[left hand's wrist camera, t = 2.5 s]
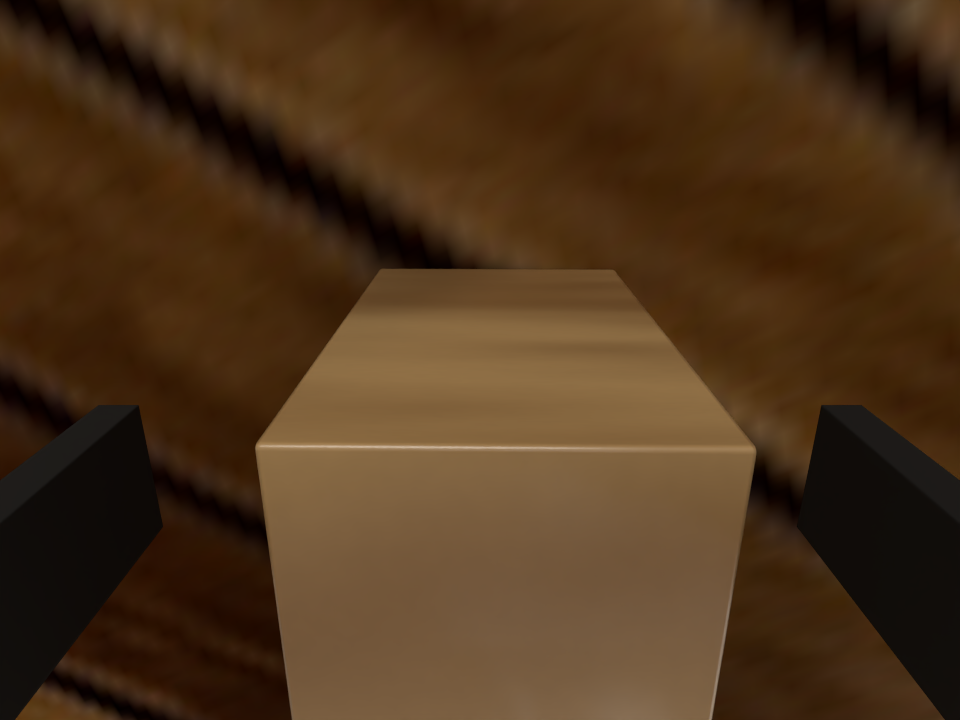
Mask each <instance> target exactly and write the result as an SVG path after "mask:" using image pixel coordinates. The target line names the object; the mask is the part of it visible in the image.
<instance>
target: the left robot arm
mask: <svg viewBox="0 0 960 720" xmlns="http://www.w3.org/2000/svg"><path fill="white" fill-rule="evenodd" d="M162 527H163V524H162V519H161V514H160V509H159V504H158V499H157V494H156V490H155V485H154V480H153V475H152V470H151V465H150V460H149V455H148V450H147V445H146V440H145V435H144V430H143V425H142V420H141V415H140V410H139V405H98V406H97V407H96V408H94V409H93V410H92V411H90V412H89V413H88V414H87V415H85V416H84V417H83V418H81V419H80V420H79V421H77V422H76V423H75V424H73V425H72V426H71V427H70V428H68V429H67V430H66V431H64V432H63V433H62V434H60V435H59V436H58V437H56V438H55V439H54V440H53V441H51V442H50V443H49V444H47V445H46V446H45V447H43V448H42V449H41V450H40V451H38V452H37V453H36V454H34V455H33V456H32V457H30V458H29V459H28V460H26V461H25V462H24V463H23V464H21V465H20V466H19V467H17V468H16V469H15V470H13V471H12V472H11V473H9V474H8V475H7V476H6V477H4V478H3V479H2V480H0V720H15V719H16V718H17V716H18V715H19V714H20V712H21V711H22V710H23V709H24V707H25V706H26V705H27V703H28V702H29V701H30V699H31V698H32V697H33V695H34V694H35V693H36V692H37V690H38V689H39V688H40V686H41V685H42V684H43V682H44V681H45V680H46V679H47V677H48V676H49V675H50V673H51V672H52V671H53V669H54V668H55V667H56V665H57V664H58V663H59V662H60V660H61V659H62V658H63V656H64V655H65V654H66V652H67V651H68V650H69V649H70V647H71V646H72V645H73V643H74V642H75V641H76V639H77V638H78V637H79V636H80V634H81V633H82V632H83V630H84V629H85V628H86V626H87V625H88V624H89V622H90V621H91V620H92V619H93V617H94V616H95V615H96V613H97V612H98V611H99V609H100V608H101V607H102V606H103V604H104V603H105V602H106V600H107V599H108V598H109V596H110V595H111V594H112V592H113V591H114V590H115V589H116V587H117V586H118V585H119V583H120V582H121V581H122V579H123V578H124V577H125V576H126V574H127V573H128V572H129V570H130V569H131V568H132V566H133V565H134V564H135V562H136V561H137V560H138V559H139V557H140V556H141V555H142V553H143V552H144V551H145V549H146V548H147V547H148V546H149V544H150V543H151V542H152V540H153V539H154V538H155V536H156V535H157V534H158V532H159V531H160V530H161V529H162ZM797 527H798V529H799V530H800V531H801V533H802V534H803V535H804V536H805V538H806V539H807V540H808V542H809V543H810V544H811V546H812V547H813V548H814V549H815V551H816V552H817V553H818V555H819V556H820V557H821V559H822V560H823V561H824V562H825V564H826V565H827V566H828V568H829V569H830V570H831V572H832V573H833V574H834V576H835V577H836V578H837V579H838V581H839V582H840V583H841V585H842V586H843V587H844V589H845V590H846V591H847V592H848V594H849V595H850V596H851V598H852V599H853V600H854V602H855V603H856V604H857V606H858V607H859V608H860V609H861V611H862V612H863V613H864V615H865V616H866V617H867V619H868V620H869V621H870V622H871V624H872V625H873V626H874V628H875V629H876V630H877V632H878V633H879V634H880V636H881V637H882V638H883V639H884V641H885V642H886V643H887V645H888V646H889V647H890V649H891V650H892V651H893V652H894V654H895V655H896V656H897V658H898V659H899V660H900V662H901V663H902V664H903V665H904V667H905V668H906V669H907V671H908V672H909V673H910V675H911V676H912V677H913V679H914V680H915V681H916V682H917V684H918V685H919V686H920V688H921V689H922V690H923V692H924V693H925V694H926V695H927V697H928V698H929V699H930V701H931V702H932V703H933V705H934V706H935V707H936V709H937V710H938V711H939V712H940V714H941V715H942V716H943V718H944V719H945V720H960V480H958V479H957V478H956V477H954V476H953V475H952V474H951V473H949V472H948V471H947V470H945V469H944V468H943V467H941V466H940V465H939V464H937V463H936V462H935V461H934V460H932V459H931V458H930V457H928V456H927V455H926V454H924V453H923V452H922V451H920V450H919V449H918V448H917V447H915V446H914V445H913V444H911V443H910V442H909V441H907V440H906V439H905V438H904V437H902V436H901V435H900V434H898V433H897V432H896V431H894V430H893V429H892V428H890V427H889V426H888V425H887V424H885V423H884V422H883V421H881V420H880V419H879V418H877V417H876V416H875V415H873V414H872V413H871V412H870V411H868V410H867V409H866V408H864V407H863V406H862V405H821V410H820V415H819V420H818V425H817V430H816V435H815V440H814V445H813V450H812V455H811V460H810V465H809V470H808V475H807V480H806V485H805V489H804V494H803V499H802V504H801V509H800V514H799V519H798V524H797Z"/></svg>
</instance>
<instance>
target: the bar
mask: <svg viewBox="0 0 960 720" xmlns="http://www.w3.org/2000/svg"><path fill="white" fill-rule="evenodd" d="M255 450H256V458H257V465H258V472H259V480H260V487H261V495H262V502H263V509H264V517H265V524H266V531H267V539H268V546H269V554H270V561H271V568H272V576H273V583H274V590H275V598H276V605H277V613H278V620H279V627H280V635H281V642H282V649H283V657H284V664H285V671H286V679H287V686H288V694H289V701H290V708H291V716H292V720H712V716H713V710H714V704H715V698H716V692H717V686H718V680H719V674H720V668H721V662H722V656H723V650H724V644H725V638H726V632H727V626H728V620H729V614H730V608H731V602H732V596H733V590H734V584H735V578H736V572H737V566H738V560H739V554H740V548H741V542H742V536H743V530H744V524H745V518H746V512H747V506H748V500H749V494H750V488H751V482H752V476H753V470H754V464H755V458H756V448H755V446H754V445H753V443H752V442H751V441H750V440H749V438H748V437H747V436H746V434H745V433H744V432H743V431H742V429H741V428H740V427H739V426H738V424H737V423H736V422H735V421H734V419H733V418H732V417H731V416H730V414H729V413H728V412H727V411H726V409H725V408H724V407H723V406H722V404H721V403H720V402H719V401H718V399H717V398H716V397H715V396H714V394H713V393H712V392H711V391H710V389H709V388H708V387H707V386H706V384H705V383H704V382H703V381H702V379H701V378H700V377H699V376H698V374H697V373H696V372H695V371H694V369H693V368H692V367H691V366H690V364H689V363H688V362H687V361H686V359H685V358H684V357H683V356H682V354H681V353H680V352H679V351H678V349H677V348H676V347H675V346H674V344H673V343H672V342H671V341H670V339H669V338H668V337H667V336H666V334H665V333H664V332H663V331H662V329H661V328H660V327H659V326H658V324H657V323H656V322H655V321H654V319H653V318H652V317H651V316H650V314H649V313H648V312H647V311H646V309H645V308H644V307H643V306H642V304H641V303H640V302H639V301H638V299H637V298H636V297H635V296H634V294H633V293H632V292H631V291H630V289H629V288H628V287H627V286H626V284H625V283H624V282H623V281H622V279H621V278H620V277H619V276H618V274H617V273H616V272H615V271H614V270H556V269H381V270H379V272H378V273H377V275H376V276H375V277H374V279H373V280H372V282H371V283H370V284H369V286H368V287H367V289H366V290H365V291H364V293H363V294H362V296H361V297H360V298H359V300H358V301H357V303H356V304H355V305H354V307H353V308H352V310H351V311H350V312H349V314H348V315H347V317H346V318H345V320H344V321H343V322H342V324H341V325H340V327H339V328H338V329H337V331H336V332H335V334H334V335H333V336H332V338H331V339H330V341H329V342H328V343H327V345H326V346H325V348H324V349H323V350H322V352H321V353H320V355H319V356H318V358H317V359H316V360H315V362H314V363H313V365H312V366H311V367H310V369H309V370H308V372H307V373H306V374H305V376H304V377H303V379H302V380H301V381H300V383H299V384H298V386H297V387H296V388H295V390H294V391H293V393H292V394H291V396H290V397H289V398H288V400H287V401H286V403H285V404H284V405H283V407H282V408H281V410H280V411H279V412H278V414H277V415H276V417H275V418H274V419H273V421H272V422H271V424H270V425H269V426H268V428H267V429H266V431H265V432H264V434H263V435H262V436H261V438H260V439H259V441H258V442H257V444H256V447H255Z"/></svg>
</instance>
